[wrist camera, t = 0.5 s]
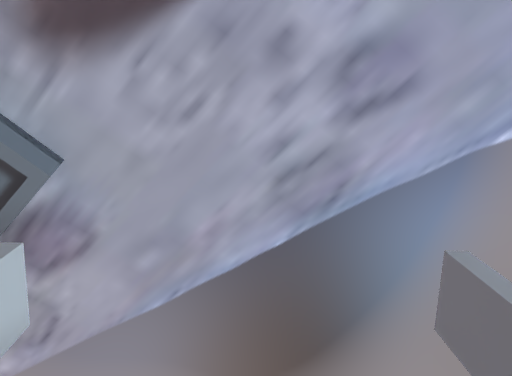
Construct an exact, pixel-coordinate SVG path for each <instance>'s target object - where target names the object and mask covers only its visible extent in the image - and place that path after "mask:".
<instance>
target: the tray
mask: <svg viewBox="0 0 512 376" xmlns="http://www.w3.org/2000/svg"><path fill="white" fill-rule="evenodd" d="M63 161H64V160H63V159H62V158H61V157H59V156H58V155H57V154H55V153H54V152H52V151H51V150H50V149H48V148H47V147H46V146H44V145H43V144H41V143H40V142H39V141H37V140H36V139H35V138H33V137H32V136H30V135H29V134H28V133H26V132H25V131H24V130H22V129H21V128H19V127H18V126H17V125H15V124H14V123H13V122H11V121H10V120H8V119H7V118H6V117H4V116H3V115H2V114H0V235H1V234H2V233H3V232H4V231H5V230H6V228H7V227H8V226H9V225H10V224H11V222H12V221H13V220H14V219H15V218H16V217H17V215H18V214H19V213H20V212H21V211H22V209H23V208H24V207H25V206H26V205H27V204H28V202H29V201H30V200H31V199H32V198H33V196H34V195H35V194H36V193H37V192H38V191H39V189H40V188H41V187H42V186H43V185H44V183H45V182H46V181H47V180H48V179H49V178H50V176H51V175H52V174H53V173H54V172H55V170H56V169H57V168H58V167H59V166H60V164H61V163H62V162H63Z"/></svg>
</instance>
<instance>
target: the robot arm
mask: <svg viewBox="0 0 512 376" xmlns="http://www.w3.org/2000/svg"><path fill="white" fill-rule="evenodd" d="M29 325H30V319H29V307H28V295H27V282H26V270H25V257H24V245H23V243H17V242H0V358H1V357H2V356H3V355H4V354H5V353H6V352H7V350H8V349H9V348H10V347H11V346H12V345H13V344H14V342H15V341H16V340H17V339H18V338H19V337H20V336H21V334H22V333H23V332H24V331H25V330H26V329H27V328H28V326H29ZM434 329H435V331H436V332H437V333H438V335H439V336H440V337H441V338H442V339H443V341H444V342H445V343H446V344H447V346H448V347H449V348H450V349H451V351H452V352H453V353H454V354H455V356H456V357H457V358H458V359H459V361H460V362H461V363H462V364H463V366H464V367H465V368H466V369H467V371H468V372H469V373H470V374H471V376H512V282H511V281H509V280H508V279H506V278H505V277H504V276H502V275H501V274H499V273H498V272H497V271H495V270H494V269H492V268H491V267H490V266H488V265H487V264H485V263H484V262H483V261H481V260H480V259H478V258H477V257H476V256H474V255H473V254H471V253H470V252H469V251H444V259H443V266H442V274H441V282H440V291H439V298H438V305H437V313H436V321H435V328H434Z"/></svg>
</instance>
